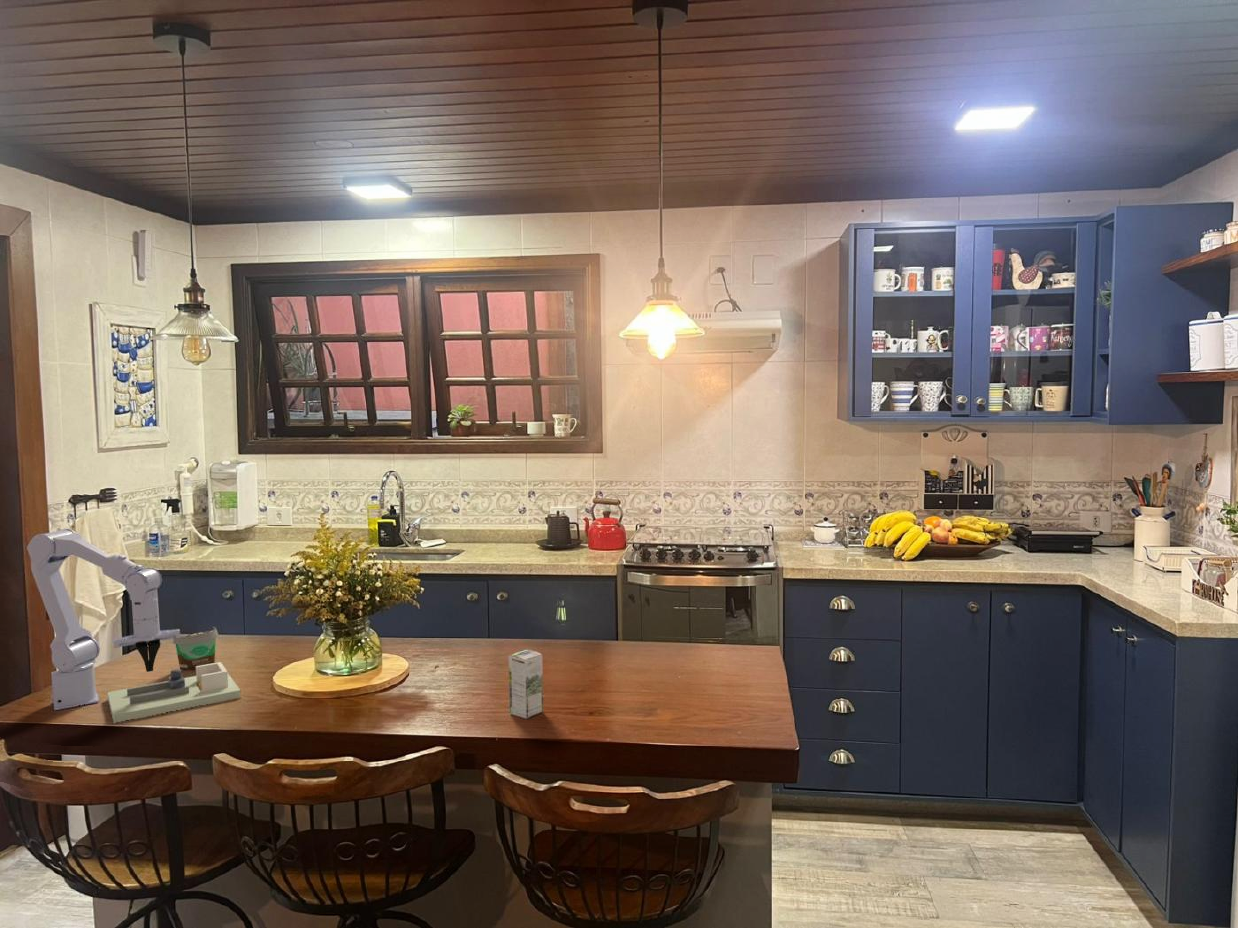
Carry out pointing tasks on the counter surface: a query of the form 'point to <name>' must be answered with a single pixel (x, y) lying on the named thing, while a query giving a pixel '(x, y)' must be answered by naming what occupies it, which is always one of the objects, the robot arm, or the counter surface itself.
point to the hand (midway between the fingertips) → (149, 670)
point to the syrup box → (526, 683)
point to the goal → (212, 676)
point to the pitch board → (165, 698)
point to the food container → (196, 649)
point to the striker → (176, 679)
